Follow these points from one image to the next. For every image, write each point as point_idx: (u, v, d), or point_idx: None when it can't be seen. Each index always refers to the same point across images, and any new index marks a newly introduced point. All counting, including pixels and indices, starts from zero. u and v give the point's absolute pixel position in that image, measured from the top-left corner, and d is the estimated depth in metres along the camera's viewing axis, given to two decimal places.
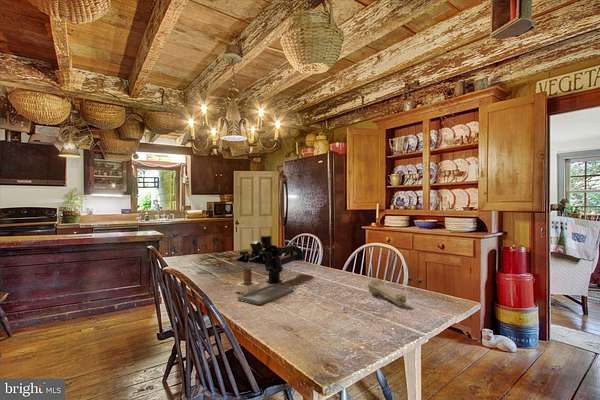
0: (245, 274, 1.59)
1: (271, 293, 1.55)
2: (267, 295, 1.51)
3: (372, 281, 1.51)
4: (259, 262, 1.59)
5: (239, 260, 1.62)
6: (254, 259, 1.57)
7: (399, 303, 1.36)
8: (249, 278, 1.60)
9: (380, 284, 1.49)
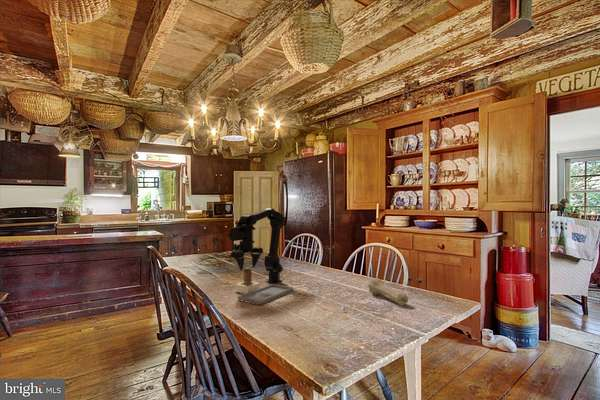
0: (245, 274, 1.59)
1: (271, 293, 1.55)
2: (267, 295, 1.51)
3: (372, 281, 1.51)
4: (241, 260, 1.55)
5: (254, 263, 1.64)
6: (239, 265, 1.57)
7: (401, 303, 1.36)
8: (249, 278, 1.60)
9: (381, 284, 1.49)
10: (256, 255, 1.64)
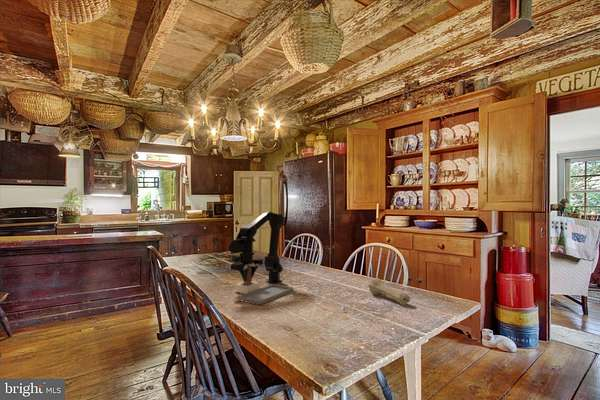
0: None
1: (271, 293, 1.55)
2: (267, 295, 1.51)
3: (373, 281, 1.52)
4: (244, 272, 1.57)
5: (251, 276, 1.62)
6: (242, 276, 1.59)
7: (403, 302, 1.37)
8: (249, 278, 1.60)
9: (381, 284, 1.50)
10: (253, 267, 1.62)
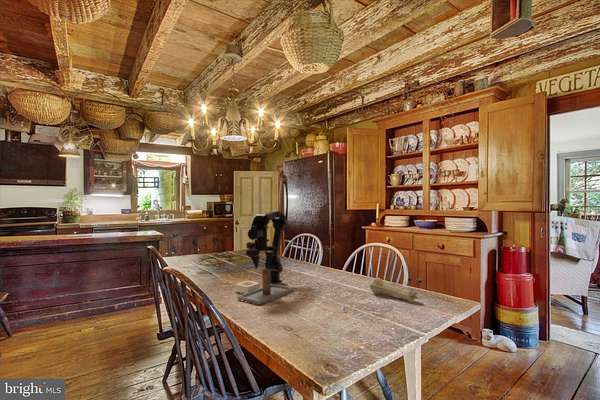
0: (264, 276, 1.52)
1: (271, 293, 1.55)
2: (267, 295, 1.51)
3: (375, 281, 1.52)
4: (256, 258, 1.58)
5: (268, 261, 1.68)
6: (254, 263, 1.60)
7: (411, 299, 1.41)
8: (268, 280, 1.52)
9: (384, 283, 1.51)
10: (270, 253, 1.68)
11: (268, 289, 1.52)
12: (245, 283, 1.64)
